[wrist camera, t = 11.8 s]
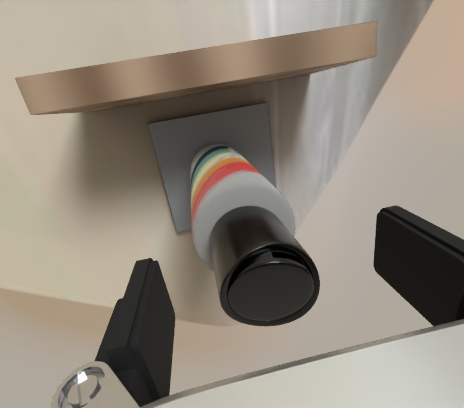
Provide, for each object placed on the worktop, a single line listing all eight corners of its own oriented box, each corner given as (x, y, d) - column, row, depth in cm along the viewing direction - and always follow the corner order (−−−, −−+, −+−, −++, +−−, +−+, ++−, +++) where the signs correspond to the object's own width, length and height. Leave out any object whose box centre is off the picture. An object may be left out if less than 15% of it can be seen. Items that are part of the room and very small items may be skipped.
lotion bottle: (251, 154, 28) (378, 251, 9) (232, 201, 29) (306, 367, 11) (200, 134, 26) (229, 203, 8) (183, 185, 28) (170, 346, 9)
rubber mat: (265, 102, 27) (267, 102, 26) (276, 208, 31) (278, 210, 30) (148, 123, 26) (147, 124, 25) (177, 229, 30) (177, 232, 29)
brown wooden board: (309, 51, 26) (377, 20, 16) (310, 73, 26) (375, 56, 17) (82, 89, 24) (14, 77, 15) (90, 111, 25) (30, 114, 15)
